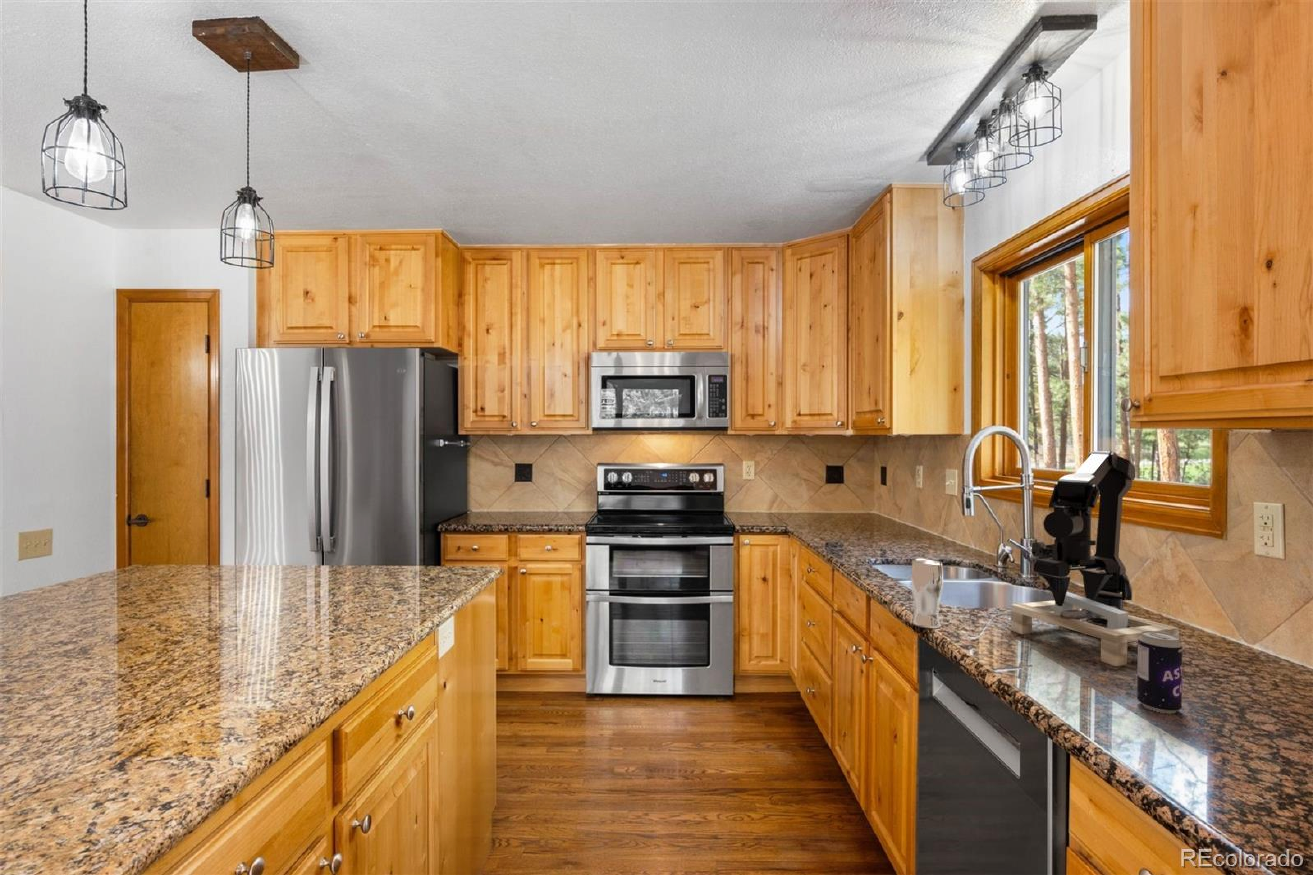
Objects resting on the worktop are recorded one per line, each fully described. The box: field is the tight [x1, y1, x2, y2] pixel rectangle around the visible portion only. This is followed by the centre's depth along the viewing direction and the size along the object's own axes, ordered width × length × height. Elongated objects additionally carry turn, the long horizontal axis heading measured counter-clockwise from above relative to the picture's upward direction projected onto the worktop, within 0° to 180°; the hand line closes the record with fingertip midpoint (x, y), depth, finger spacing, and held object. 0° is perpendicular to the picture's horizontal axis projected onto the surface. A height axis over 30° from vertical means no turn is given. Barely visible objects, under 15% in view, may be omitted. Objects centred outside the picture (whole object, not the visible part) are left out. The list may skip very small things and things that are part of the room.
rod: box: [1060, 606, 1118, 620], centre depth 137 cm, size 15×2×2 cm, turn 109°
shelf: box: [1010, 600, 1180, 667], centre depth 137 cm, size 18×24×6 cm
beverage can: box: [1136, 631, 1183, 715], centre depth 103 cm, size 6×6×12 cm
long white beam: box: [1053, 591, 1130, 630], centre depth 137 cm, size 3×14×6 cm, turn 19°
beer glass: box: [910, 558, 944, 629], centre depth 148 cm, size 7×7×15 cm
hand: (1074, 604), depth 140 cm, fingers open, 9 cm apart
